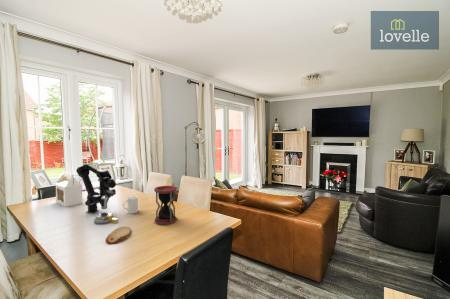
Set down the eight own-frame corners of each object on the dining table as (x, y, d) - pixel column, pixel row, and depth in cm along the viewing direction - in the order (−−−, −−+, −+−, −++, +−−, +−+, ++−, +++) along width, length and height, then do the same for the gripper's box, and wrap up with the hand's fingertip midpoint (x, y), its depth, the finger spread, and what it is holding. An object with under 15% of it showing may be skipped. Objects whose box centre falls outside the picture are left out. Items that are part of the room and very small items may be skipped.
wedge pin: (100, 209, 171) (99, 197, 170) (104, 207, 175) (104, 196, 174) (104, 209, 170) (104, 198, 169) (108, 208, 174) (108, 196, 173)
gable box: (82, 203, 199) (81, 173, 197) (65, 207, 188) (64, 175, 186) (72, 198, 212) (71, 170, 210) (56, 202, 201) (54, 172, 199)
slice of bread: (126, 227, 150) (126, 222, 150) (139, 236, 138) (139, 230, 138) (98, 236, 137) (98, 230, 137) (109, 246, 125) (109, 240, 125)
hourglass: (169, 215, 174) (169, 184, 172) (180, 221, 162) (181, 188, 160) (150, 220, 162) (150, 187, 161) (161, 227, 151) (161, 192, 149)
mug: (124, 215, 172) (124, 200, 171) (121, 212, 178) (121, 197, 178) (139, 212, 180) (139, 197, 179) (136, 209, 186) (136, 195, 185)
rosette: (89, 222, 156) (89, 216, 156) (104, 216, 168) (104, 210, 168) (109, 226, 151) (109, 219, 151) (122, 219, 164) (122, 213, 163)
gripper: (102, 190, 160) (102, 210, 161) (120, 184, 178) (121, 203, 179) (90, 189, 163) (90, 209, 164) (109, 183, 181) (110, 202, 182)
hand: (104, 205), depth 172 cm, fingers closed on wedge pin, 3 cm apart
